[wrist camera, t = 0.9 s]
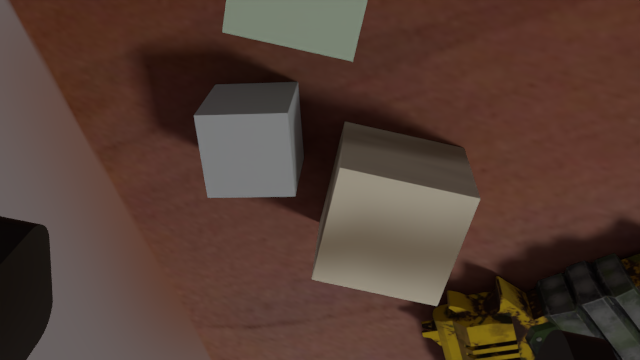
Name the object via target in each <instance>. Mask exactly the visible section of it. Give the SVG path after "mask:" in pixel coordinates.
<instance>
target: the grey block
mask: <svg viewBox="0 0 640 360" xmlns="http://www.w3.org/2000/svg"><path fill="white" fill-rule="evenodd" d="M194 121H195V126H196V132H197V138H198V144H199V150H200V156H201V161H202V167H203V173H204V179H205V185H206V191H207V196H208V198H227V197H295V196H296V191H297V187H298V182H299V178H300V174H301V169H302V165H303V160H304V150H303V138H302V125H301V113H300V100H299V88H298V82H279V83H247V84H215V86H214V87H213V88H212V90H211V91H210V93H209V94H208V96H207V97H206V98H205V100H204V101H203V103H202V104H201V106H200V107H199V109H198V110H197V111H196V113H195V114H194Z"/></svg>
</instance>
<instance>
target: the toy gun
mask: <svg viewBox="0 0 640 360" xmlns="http://www.w3.org/2000/svg"><path fill="white" fill-rule="evenodd" d="M446 293H447V301H448V304H446V305H441V306H439V307H437V308H435V309H434V310H433V314H432V316H433V319H434V320H430V321H423V322H421V324H422V327H423V328H425V329H431V330H424V331H422V335H423V337H426V338H431V339H433V340H434V341H435V342H436V343H438V344H439V345H440V346H442V349H443V353H444V356H445V360H535V358H536V356H537V354H538V352H539V350H540V348H541V346H542V344H543V342H544V340H545V339H546V337H547V335H548V334H549V333H550V332H551V331H553V330H562V331H567V332H572V333H577V334H582V335H587V336H592V337H597V338H602V339H604V340H606V341H607V342H608V343H609V344H610V346H611V348H612V349H613V352H614V354H615V356H616V358H617V360H622V359H623V360H640V254H637V255H634V256H631V257H628V258H625V259H623V260H620V259H619V257H618V256H617V255H616V254H614V253H613V254H610V255H608V256H605V257H602V258H599V259H597V260H595V261H594V262H593V263H592V265H591V264H590V263H588V262H586V261H582V262H579V263H576V264H574V265H571V266H568V267H566V271H565V274H562V273H559V274H556V275H553V276H550V277H547V278H545V279H542V280H539V281H538V282H537V284H536V289H534V290H532V291H530V292H527V293H524V292H523V291H521V290H520V289H518V288H516V287H515V286H513V285H512V284H510V283H508V282H507V281H505V280H504V279H502V278H500V277H499V276H497V277H496V278H495V290H493V291H492V292H483V293H478V294H472V295H464V294H462V293H459V292H455V291H449V290H448V291H447V292H446Z"/></svg>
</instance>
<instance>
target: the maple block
mask: <svg viewBox="0 0 640 360" xmlns="http://www.w3.org/2000/svg"><path fill="white" fill-rule="evenodd" d="M479 201H480V196H479V193H478V190H477V186H476V183H475V180H474V177H473V174H472V171H471V168H470V165H469V161H468V158H467V155H466V152H465V149H464V148H461V147H457V146H452V145H448V144H443V143H439V142H435V141H430V140H426V139H421V138H417V137H412V136H408V135H403V134H399V133H394V132H390V131H385V130H381V129H377V128H372V127H368V126H363V125H359V124H354V123H350V122H344V126H343V130H342V134H341V138H340V142H339V146H338V150H337V154H336V158H335V162H334V166H333V171H332V175H331V179H330V183H329V187H328V191H327V195H326V199H325V203H324V207H323V211H322V215H321V219H320V223H319V230H318V237H317V244H316V251H315V258H314V265H313V272H312V280H317V281H321V282H326V283H330V284H335V285H340V286H344V287H349V288H354V289H358V290H363V291H368V292H372V293H377V294H382V295H386V296H391V297H396V298H400V299H405V300H410V301H414V302H419V303H424V304H428V305H433V306H438V303H439V301H440V298H441V296H442V293H443V291H444V288H445V286H446V283H447V281H448V278H449V276H450V273H451V271H452V268H453V266H454V263H455V261H456V258H457V256H458V253H459V251H460V248H461V246H462V243H463V241H464V238H465V236H466V233H467V231H468V228H469V226H470V223H471V221H472V218H473V216H474V213H475V211H476V208H477V206H478V203H479Z"/></svg>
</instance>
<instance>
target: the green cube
mask: <svg viewBox="0 0 640 360" xmlns="http://www.w3.org/2000/svg"><path fill="white" fill-rule="evenodd" d="M366 5H367V0H226V7H225V15H224V23H223V31H222V32H223V33H228V34H232V35H237V36H241V37H246V38H250V39H255V40H259V41H263V42H268V43H272V44H277V45H281V46H286V47H290V48H295V49H299V50H304V51H308V52H312V53H317V54H321V55H326V56H330V57H335V58H339V59H344V60H348V61H352V62H353V59H354V55H355V50H356V46H357V42H358V38H359V34H360V30H361V25H362V21H363V17H364V13H365V9H366Z"/></svg>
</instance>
